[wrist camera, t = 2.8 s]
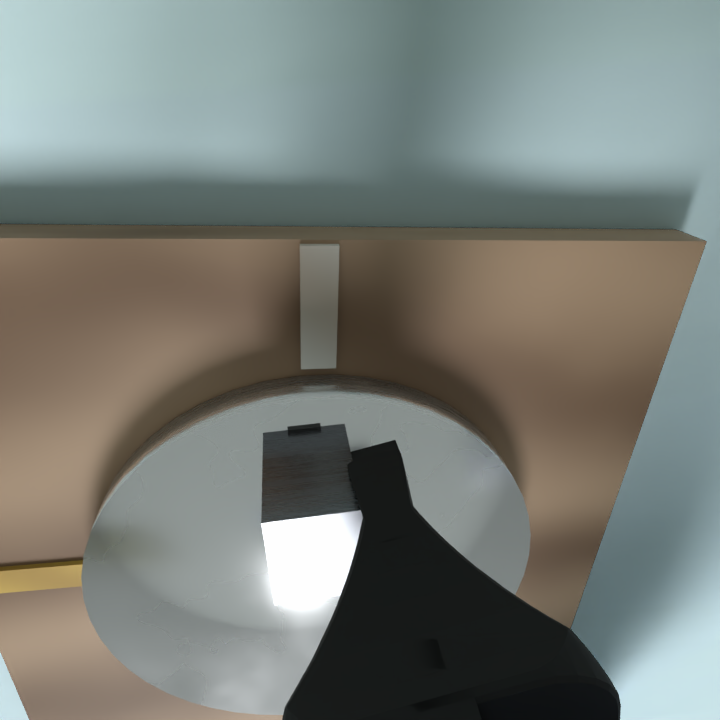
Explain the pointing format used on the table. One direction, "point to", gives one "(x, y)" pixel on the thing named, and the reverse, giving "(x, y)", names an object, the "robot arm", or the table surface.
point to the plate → (299, 358)
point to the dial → (275, 529)
